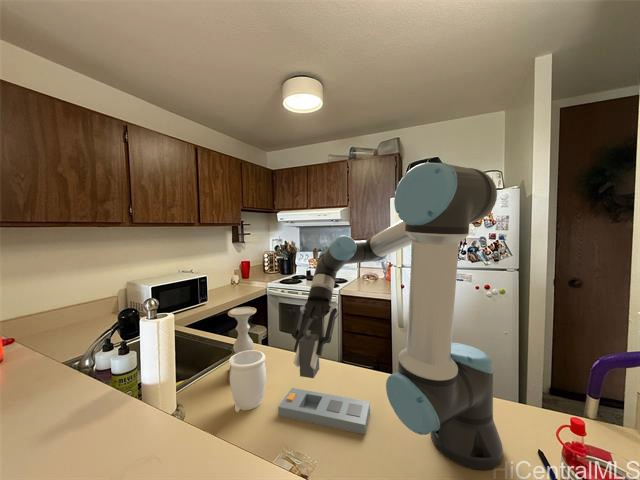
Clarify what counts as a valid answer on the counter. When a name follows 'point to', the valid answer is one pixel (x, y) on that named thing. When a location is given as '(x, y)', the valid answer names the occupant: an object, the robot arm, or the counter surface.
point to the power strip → (326, 410)
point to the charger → (307, 355)
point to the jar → (247, 379)
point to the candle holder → (242, 330)
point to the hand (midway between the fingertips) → (304, 365)
